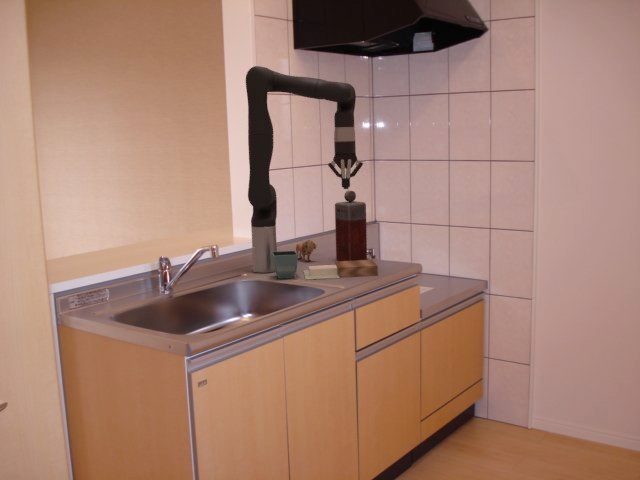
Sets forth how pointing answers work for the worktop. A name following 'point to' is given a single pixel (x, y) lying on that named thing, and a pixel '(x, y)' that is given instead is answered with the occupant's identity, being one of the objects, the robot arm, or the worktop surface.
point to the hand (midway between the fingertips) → (345, 188)
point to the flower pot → (285, 263)
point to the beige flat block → (323, 270)
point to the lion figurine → (305, 249)
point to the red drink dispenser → (350, 229)
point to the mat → (308, 277)
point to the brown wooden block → (356, 268)
